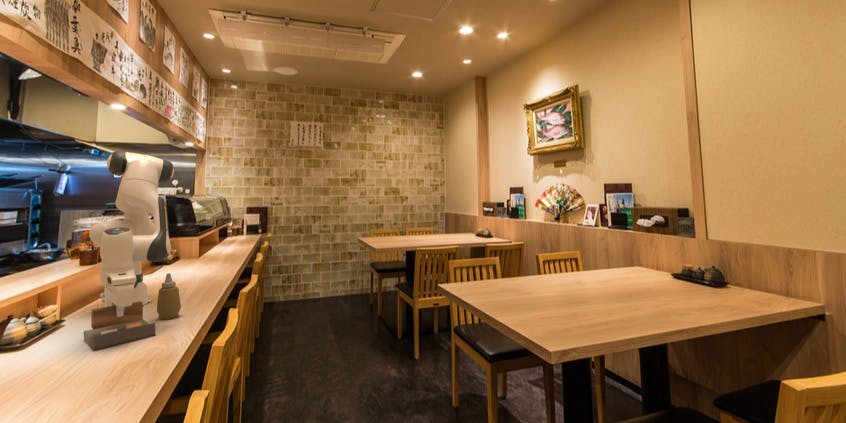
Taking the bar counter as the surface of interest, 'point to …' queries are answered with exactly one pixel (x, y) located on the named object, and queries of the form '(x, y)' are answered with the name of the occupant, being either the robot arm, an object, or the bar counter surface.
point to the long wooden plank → (109, 318)
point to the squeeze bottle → (168, 299)
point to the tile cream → (108, 331)
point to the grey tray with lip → (118, 334)
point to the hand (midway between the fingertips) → (117, 314)
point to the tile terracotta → (133, 325)
